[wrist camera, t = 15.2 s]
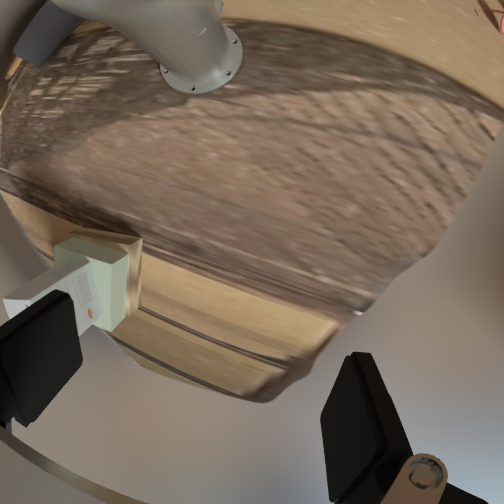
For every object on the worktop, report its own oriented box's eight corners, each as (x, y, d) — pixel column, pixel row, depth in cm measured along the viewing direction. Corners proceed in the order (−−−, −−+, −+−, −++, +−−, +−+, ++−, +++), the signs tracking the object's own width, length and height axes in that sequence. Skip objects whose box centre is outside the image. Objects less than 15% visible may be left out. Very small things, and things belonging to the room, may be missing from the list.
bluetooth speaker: (110, -29, 29) (87, -50, 20) (133, -18, 31) (110, -43, 21) (37, 53, 35) (5, 44, 25) (53, 71, 36) (19, 61, 27)
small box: (60, 263, 36) (0, 297, 24) (90, 260, 35) (28, 298, 23) (74, 312, 38) (23, 355, 26) (105, 313, 38) (54, 363, 25)
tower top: (73, 237, 40) (54, 245, 35) (128, 253, 40) (112, 264, 35) (73, 296, 43) (57, 309, 39) (125, 316, 43) (111, 331, 38)
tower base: (85, 226, 45) (68, 233, 40) (143, 237, 44) (129, 245, 40) (87, 288, 48) (73, 299, 44) (141, 303, 48) (129, 316, 43)
